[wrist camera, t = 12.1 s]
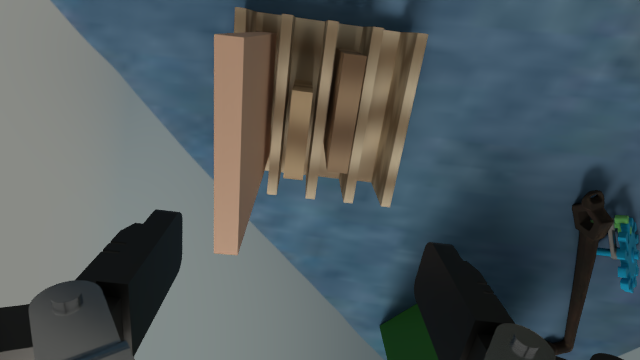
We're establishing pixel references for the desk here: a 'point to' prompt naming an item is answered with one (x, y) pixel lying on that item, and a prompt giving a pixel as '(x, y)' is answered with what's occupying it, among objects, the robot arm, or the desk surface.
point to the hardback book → (407, 337)
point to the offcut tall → (343, 108)
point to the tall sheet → (240, 129)
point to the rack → (317, 67)
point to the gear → (624, 250)
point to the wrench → (584, 260)
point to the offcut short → (298, 129)
